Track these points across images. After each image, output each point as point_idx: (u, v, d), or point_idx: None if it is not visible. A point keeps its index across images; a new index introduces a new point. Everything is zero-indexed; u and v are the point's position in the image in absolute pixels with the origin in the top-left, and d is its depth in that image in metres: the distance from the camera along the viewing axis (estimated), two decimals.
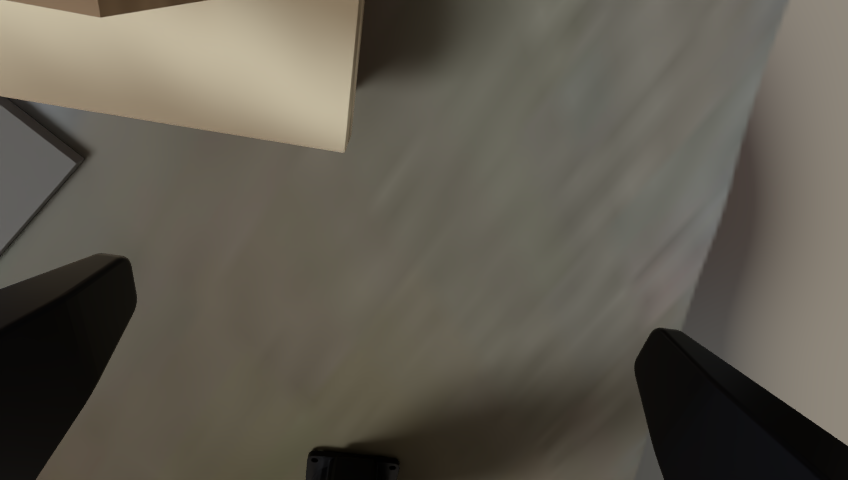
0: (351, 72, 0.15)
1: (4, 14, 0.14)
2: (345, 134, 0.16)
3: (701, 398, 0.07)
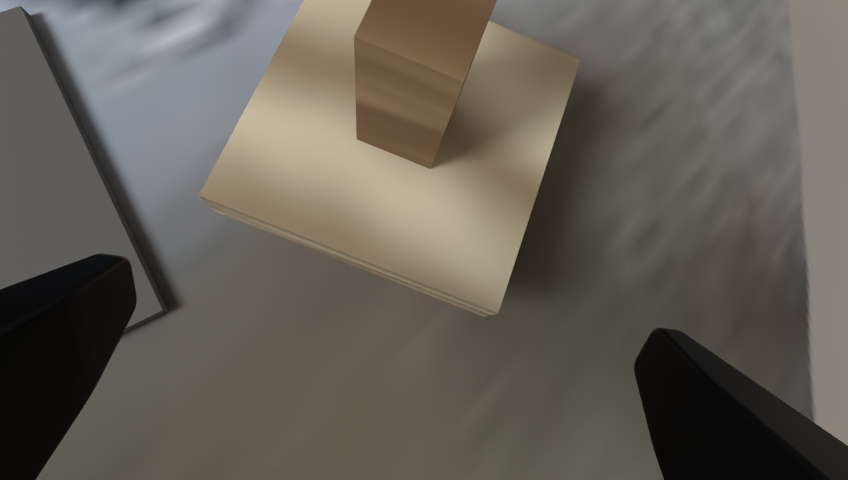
0: (520, 243, 0.17)
1: (253, 140, 0.17)
2: (502, 296, 0.17)
3: (701, 398, 0.07)
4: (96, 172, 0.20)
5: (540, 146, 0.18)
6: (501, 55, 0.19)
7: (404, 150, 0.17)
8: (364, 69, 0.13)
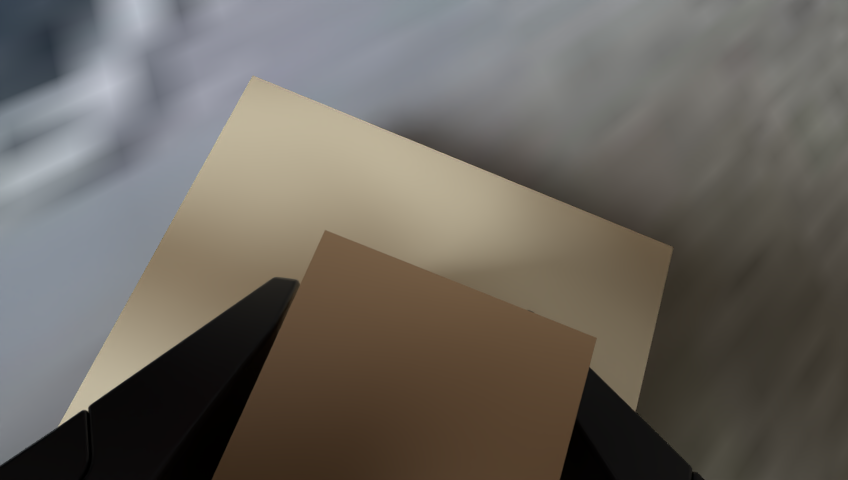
0: None
1: None
2: None
3: None
4: None
5: None
6: (543, 247, 0.11)
7: None
8: None
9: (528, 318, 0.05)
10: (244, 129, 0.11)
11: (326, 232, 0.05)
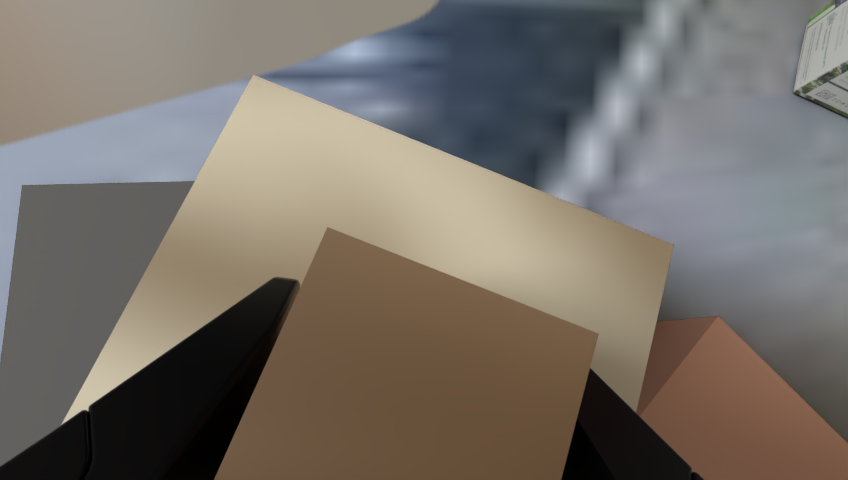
0: None
1: None
2: None
3: None
4: None
5: None
6: (544, 245, 0.11)
7: None
8: None
9: (530, 314, 0.05)
10: (245, 128, 0.11)
11: (328, 229, 0.05)
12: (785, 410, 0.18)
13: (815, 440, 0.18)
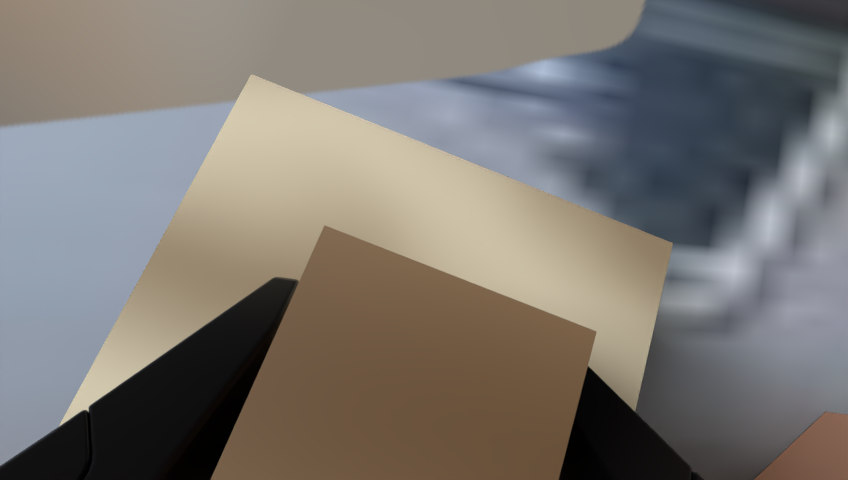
0: None
1: None
2: None
3: None
4: None
5: None
6: (542, 244, 0.11)
7: None
8: None
9: (528, 312, 0.05)
10: (243, 128, 0.11)
11: (326, 227, 0.05)
12: None
13: None
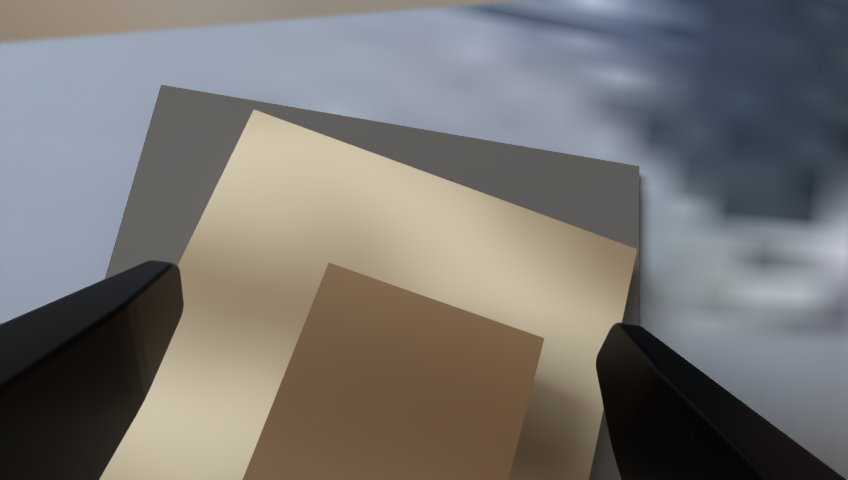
0: None
1: (128, 450, 0.10)
2: None
3: (653, 392, 0.07)
4: None
5: (586, 404, 0.12)
6: (520, 254, 0.13)
7: None
8: None
9: (490, 325, 0.06)
10: (248, 158, 0.12)
11: (330, 264, 0.06)
12: None
13: None
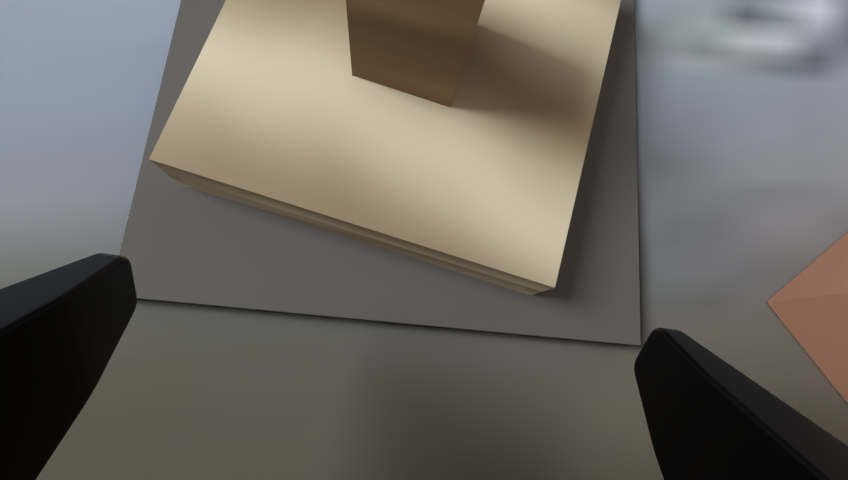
0: (574, 196, 0.13)
1: (217, 84, 0.13)
2: (558, 265, 0.13)
3: (701, 398, 0.07)
4: (634, 144, 0.16)
5: (589, 71, 0.14)
6: None
7: (415, 82, 0.13)
8: None
9: None
10: None
11: None
12: None
13: None
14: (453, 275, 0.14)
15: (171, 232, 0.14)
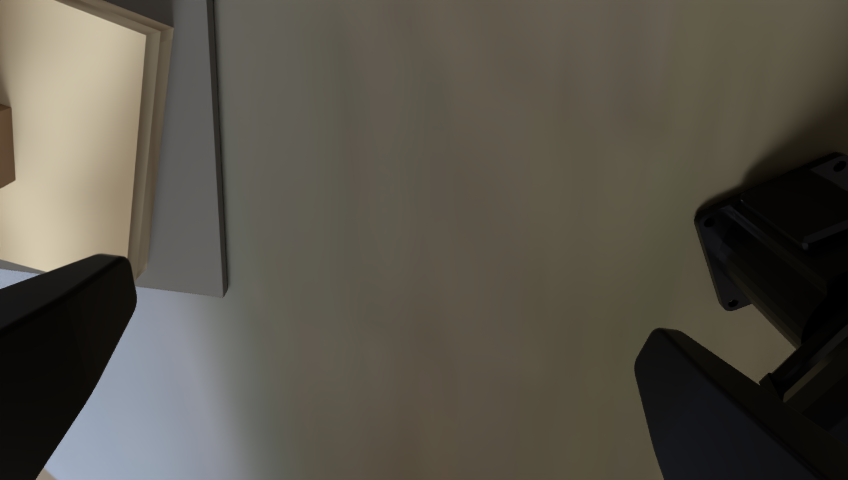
0: (55, 0, 0.15)
1: (60, 261, 0.20)
2: (126, 27, 0.15)
3: (701, 398, 0.07)
4: None
5: None
6: None
7: None
8: None
9: None
10: None
11: None
12: None
13: None
14: (170, 94, 0.18)
15: (179, 270, 0.22)
